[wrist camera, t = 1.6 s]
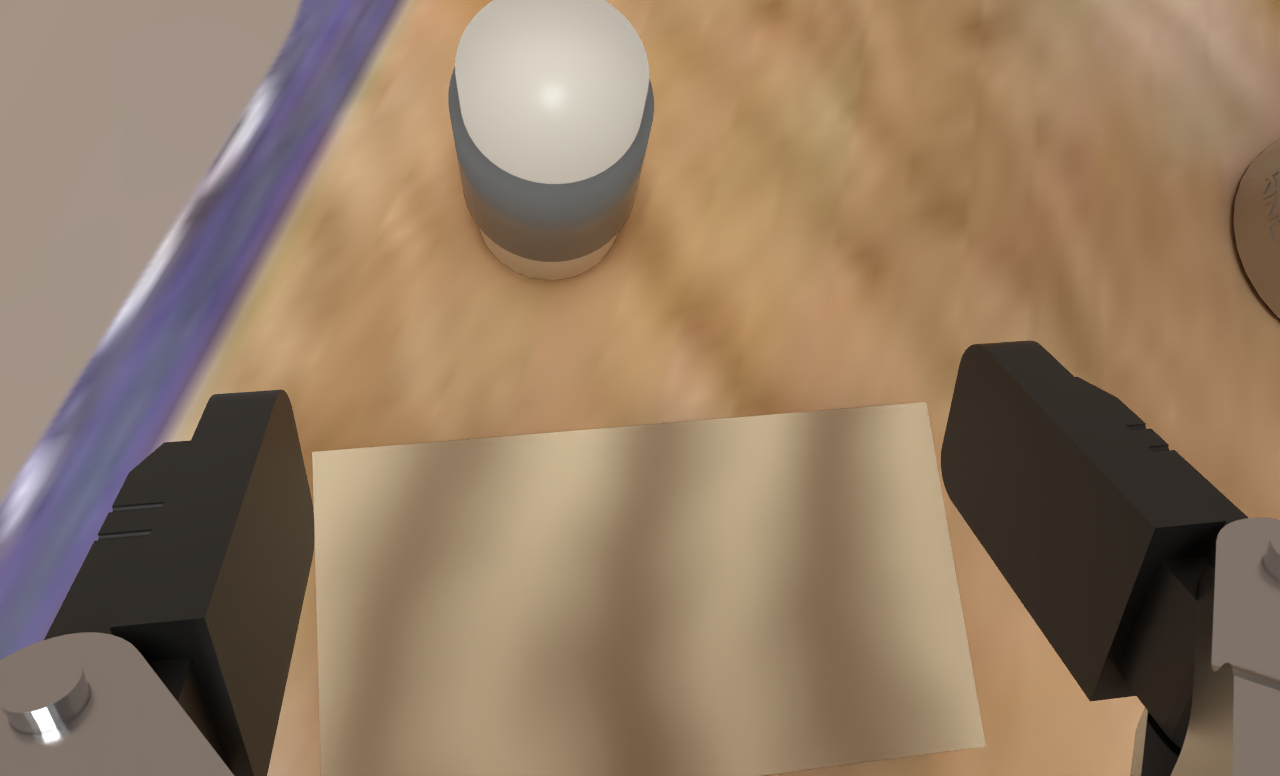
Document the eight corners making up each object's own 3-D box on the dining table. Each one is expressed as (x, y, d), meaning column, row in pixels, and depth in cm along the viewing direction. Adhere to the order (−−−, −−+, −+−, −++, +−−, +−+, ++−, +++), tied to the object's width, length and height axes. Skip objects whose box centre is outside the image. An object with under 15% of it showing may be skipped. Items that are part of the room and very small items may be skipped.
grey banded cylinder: (620, 135, 34) (648, -28, 26) (636, 283, 33) (672, 163, 24) (463, 142, 34) (437, -24, 25) (473, 293, 32) (449, 174, 24)
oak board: (914, 408, 33) (926, 401, 32) (971, 742, 31) (985, 746, 30) (319, 456, 31) (312, 452, 30) (329, 825, 28) (322, 832, 27)
